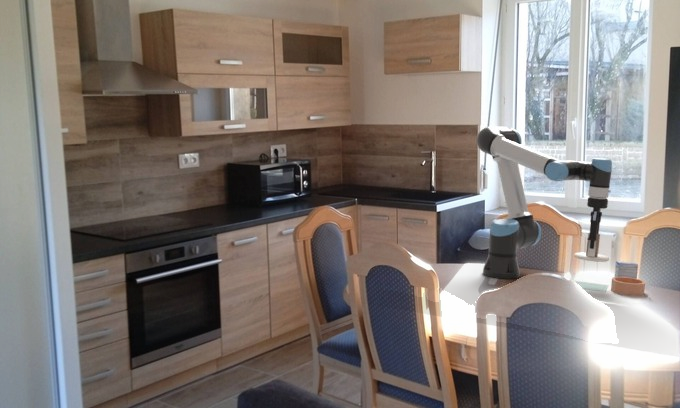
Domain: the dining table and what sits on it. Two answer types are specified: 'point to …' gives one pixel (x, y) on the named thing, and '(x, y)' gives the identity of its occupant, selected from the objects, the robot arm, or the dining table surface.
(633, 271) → the medicine box
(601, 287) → the trivet
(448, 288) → the dining table surface
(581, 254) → the lid
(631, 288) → the bowl
